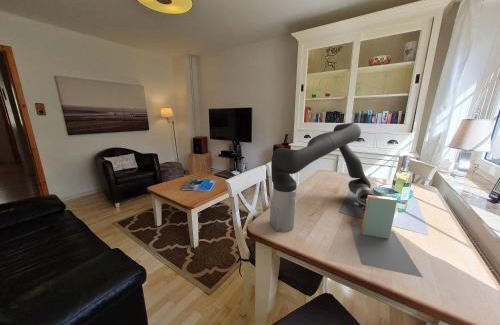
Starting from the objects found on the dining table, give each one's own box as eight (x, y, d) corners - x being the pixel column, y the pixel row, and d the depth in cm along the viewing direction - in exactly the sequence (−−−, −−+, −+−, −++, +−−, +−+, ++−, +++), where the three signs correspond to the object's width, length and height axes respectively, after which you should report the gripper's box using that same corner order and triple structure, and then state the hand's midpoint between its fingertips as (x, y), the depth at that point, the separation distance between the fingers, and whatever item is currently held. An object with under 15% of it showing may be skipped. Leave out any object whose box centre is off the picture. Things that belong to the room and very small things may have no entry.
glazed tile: (361, 231, 79) (367, 194, 75) (387, 236, 76) (395, 198, 72) (362, 234, 77) (369, 197, 73) (389, 239, 74) (397, 200, 70)
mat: (349, 225, 84) (349, 224, 84) (393, 232, 79) (393, 231, 79) (361, 265, 62) (361, 264, 62) (422, 279, 57) (423, 277, 57)
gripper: (351, 187, 94) (358, 203, 78) (383, 191, 90) (398, 208, 74) (349, 202, 96) (356, 220, 80) (380, 206, 92) (394, 226, 76)
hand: (376, 214), depth 77 cm, fingers closed
